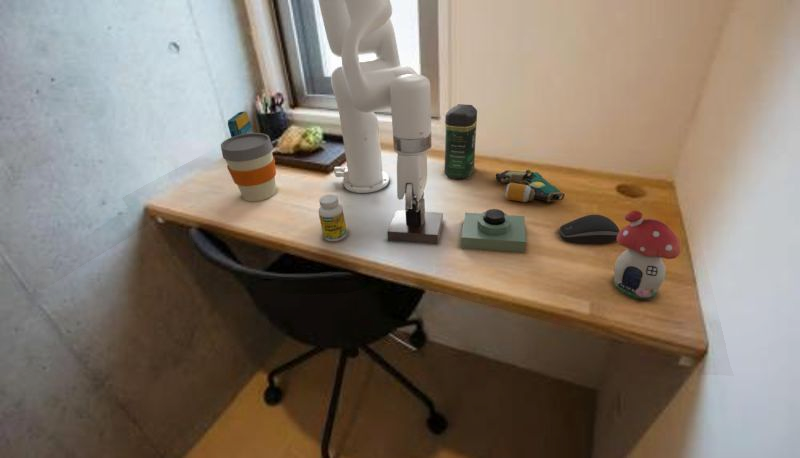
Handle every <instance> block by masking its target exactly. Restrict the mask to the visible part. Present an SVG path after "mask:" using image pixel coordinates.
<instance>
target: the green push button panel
mask: <svg viewBox="0 0 800 458" xmlns="http://www.w3.org/2000/svg"><path fill="white" fill-rule="evenodd" d="M485 212H486V211H483V212H482V213H479V212H464V216H463V217H464V218H463V225H462V230H461V236H460V248H461V249H463V248H464V249H475V250H488V251H499V252H500V251H502V252H513V253H526V248H527V247H526V246H527V235H526V234H527V233H526V219H525V215H513V214H507V213H505V212H504V214H505V216H504V223H503V224H501V225H490V224H487V223H486V222H485Z"/></svg>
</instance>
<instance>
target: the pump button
mask: <svg viewBox="0 0 800 458" xmlns="http://www.w3.org/2000/svg"><path fill="white" fill-rule="evenodd" d="M484 212H485V222H486V223H487V224H490V225H501V224H503V223H504V216H505V214H504V213H505V212H504V211H503V210H501V209H497V208H490V209H487V210H486V211H484Z"/></svg>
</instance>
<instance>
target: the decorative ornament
mask: <svg viewBox="0 0 800 458" xmlns="http://www.w3.org/2000/svg"><path fill="white" fill-rule="evenodd" d="M624 220H625V221H626V222H629V223H628V224H627V225H625V226H623V228H622V229H620V232H619V233H618V235H617V241H616V242H617V244H618V245H619V246H621V247H623V248H626V250H624V251H623V252H622V253H621V254H620V255H619V256H618V257H617V259H616V260H615V263H614V267H613V273H614V281H613V282H614V283H613V286H614V287H615V288H616V289H617V290H618V291H619V292H621V294H623V295H625V296H627V297H629V298H632V299H634V300H638V301H650V300H653V299H655V298H657V295H658V291H659V288H660V287H661V286H662V284H663V283H664V281H665V279H666V276H667V274H666V273H667V271H666V266H665V263H664V261H663V259H666V260H673V259H677V258H678V257H679V255H680V253H681V245H680V242H679V240H678V236H677V235H676V233H675V231H674V230H673V229H672V228H671V227H670V226H668V225H667V224H666V223H664V222H663V221H661V220H658V219H655V218H643V213H642V212H641V211H639V210H630V211H628V212H627V213H626V214H625V215H624Z"/></svg>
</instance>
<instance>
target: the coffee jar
mask: <svg viewBox="0 0 800 458" xmlns="http://www.w3.org/2000/svg"><path fill="white" fill-rule="evenodd" d="M444 118H445V119H444V127H445V128H444V129H445V136H444V137H445V138H444V140H445V142H444V144H445V145H444V175H445V176H447V177H449V178H452V179H456V180H459V179H467V178H469V177H470V176H471V175H472V174H473V172H474V170H475V157H476V139H477V138H476V136H477V125H478V109H477V108H476V107H474V105H473V104H464V103H458V104H457V105H455V106H452V107H451V108H450V109H449V110H448V111H447V112H446V114H445V117H444Z"/></svg>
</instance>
